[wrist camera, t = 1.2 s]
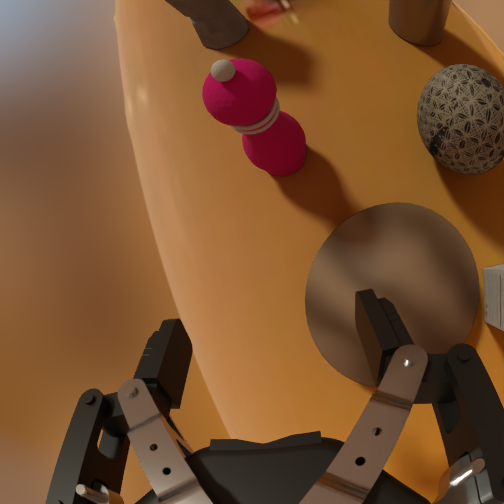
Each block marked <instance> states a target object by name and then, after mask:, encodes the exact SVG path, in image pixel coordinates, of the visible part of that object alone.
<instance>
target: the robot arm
mask: <svg viewBox="0 0 504 504" xmlns="http://www.w3.org/2000/svg"><path fill="white" fill-rule="evenodd" d="M451 1H452V0H389V20H388V21H389V25H390V27H391V28H392V30H393V31H394V32H395V33H396V34H397V35H398V36H400V37H401V38H403V39H405V40H407V41H409V42H411V43H414V44H417V45H422V46H432V45H436V44H438V43H439V42H440V40H441V37H442V34H443V30H444V27H445V24H446V20H447V16H448V13H449V9H450V5H451ZM355 324H356V329H357V332H358V335H359V338H360V340H361V343H362V346H363V349H364V352H365V355H366V358H367V361H368V364H369V367H370V370H371V373H372V377H373V380H374V383H375V386H376V387H377V386H379V387H378V389H377V391H376V393H375V394H373V395H372V396H371V398H370V400H369V402H368V404H367V405H366V407H365V409H364V411H363V413H362V415H361V416H360V418H359V420H358V422H357V423H356V425H355V427H354V428H353V430H352V432H351V433H350V435H349V437H348V438H347V440H346V442H342V441H340V440H336V439H332V438H325V437H321V433H320V431H316V432H310V433H303V434H295V435H290V436H288V437H285V438H281V439H278V440H275V441H272V442H269V443H264V444H262V443H255V442H249V441H244V440H239V439H211V442H210V446H209V447H206V448H202V449H200V450H198V451H196V452H194V451H193V449H192V448H191V447H190V446H189V444H188V443H187V442H186V440H185V438H184V437H183V435H182V433H181V432H180V430H179V429H178V427H177V425H176V424H175V422H174V421H173V419H172V417H171V416H170V414H169V413H170V409H179V408H180V404H181V400H182V395H183V391H184V386H185V382H186V378H187V374H188V369H189V365H190V361H191V356H192V343H191V340H190V338H189V336H188V334H187V332H186V330H185V328H184V326H183V324H182V322H181V320H180V319H168V320H164V321H163V322H162V324H161V326H160V329H159V331H155V332H154V333H153V335H152V336H151V337H150V338H149V339H148V342H147V344H146V347H145V348H146V349H144V352H143V356H142V357H141V359H140V362H139V365H138V367H137V370H136V372H135V375H134V378H133V379H131V380H128V381H126V382H125V383H124V384H123V385H121V387H120V388H119V390H118V392H115V393H111V394H107V395H103V394H102V392H101V391H100V390H98V389H89V390H87V391H86V392H84V393H83V394H82V395H81V397H80V399H79V401H78V404H77V406H76V409H75V412H74V414H73V417H72V419H71V422H70V425H69V428H68V430H67V433H66V436H65V439H64V442H63V445H62V448H61V451H60V454H59V457H58V460H57V464H56V467H55V471H54V474H53V477H52V481H51V484H50V488H49V492H48V496H47V500H46V504H124V501H123V499H122V497H121V496H120V491H121V486H122V480H123V475H124V470H125V465H126V460H127V455H128V451H129V446H130V442H131V444H132V446H133V448H134V451H135V453H136V455H137V458H138V460H139V462H140V464H141V466H142V468H143V470H144V472H145V474H146V476H147V478H148V480H149V482H150V484H151V486H152V488H153V489H152V490H150V491H149V492H148V493H147V494H146V495H145V496H143V497H142V498H141V499H140V500H139V501H137V502H136V503H135V504H431V503H430V502H429V501H428V500H427V499H426V498H424V497H423V496H421V495H420V494H418V493H417V492H415V491H414V490H412V489H410V488H409V487H407V486H406V485H404V484H403V483H402V482H400V481H399V480H397V479H396V478H394V477H393V476H391V475H390V474H389V473H387V472H386V471H384V470H383V467H384V466H385V464H386V462H387V460H388V458H389V456H390V454H391V452H392V450H393V448H394V446H395V444H396V442H397V440H398V438H399V436H400V434H401V431H402V429H403V427H404V425H405V422H406V420H407V418H408V415H409V413H410V411H411V408H412V405H413V404H428V403H432V406H433V409H434V412H435V415H436V419H437V422H438V425H439V429H440V432H441V436H442V440H443V443H444V447H445V451H446V455H447V459H448V464H449V468H448V469H447V470H446V471H445V472H444V473H443V475H442V476H441V478H440V481H439V493H438V496H437V498H436V499H435V501H434V502H433V503H432V504H503V503H504V408H503V406H502V403H501V401H500V399H499V396H498V394H497V392H496V390H495V387H494V385H493V383H492V381H491V379H490V377H489V375H488V373H487V371H486V369H485V367H484V365H483V363H482V361H481V359H480V357H479V355H478V353H477V351H476V350H475V349H474V348H473V347H472V346H470V345H468V344H464V343H460V344H456V345H454V346H452V347H451V348H450V349H449V351H448V353H445V354H430V353H426V352H425V350H424V349H422V348H421V347H419V346H417V345H415V344H414V342H413V340H412V338H411V337H410V335H409V333H408V331H407V329H406V327H405V325H404V323H403V321H402V320H401V317H400V316H399V314H398V313H397V310H396V308H395V306H394V305H393V303H392V302H390V301H389V300H388V299H386V298H385V297H383V298H379V299H378V298H377V296H376V295H375V293H374V291H373V289H372V288H371V289H366V290H361V291H356V292H355ZM101 429H102V430H103V434H102V438H101V441H100V445H99V449H98V447H97V442H98V439H99V435H100V432H101Z"/></svg>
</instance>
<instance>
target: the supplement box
mask: <svg viewBox="0 0 504 504" xmlns="http://www.w3.org/2000/svg"><path fill="white" fill-rule="evenodd" d="M483 278H484V298H485V322H486V323H488V324H490V325H492V326H494V327H496V328H498V329H500V330H502V331H504V264H502V265H497V266H493V267H487V268H483Z"/></svg>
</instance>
